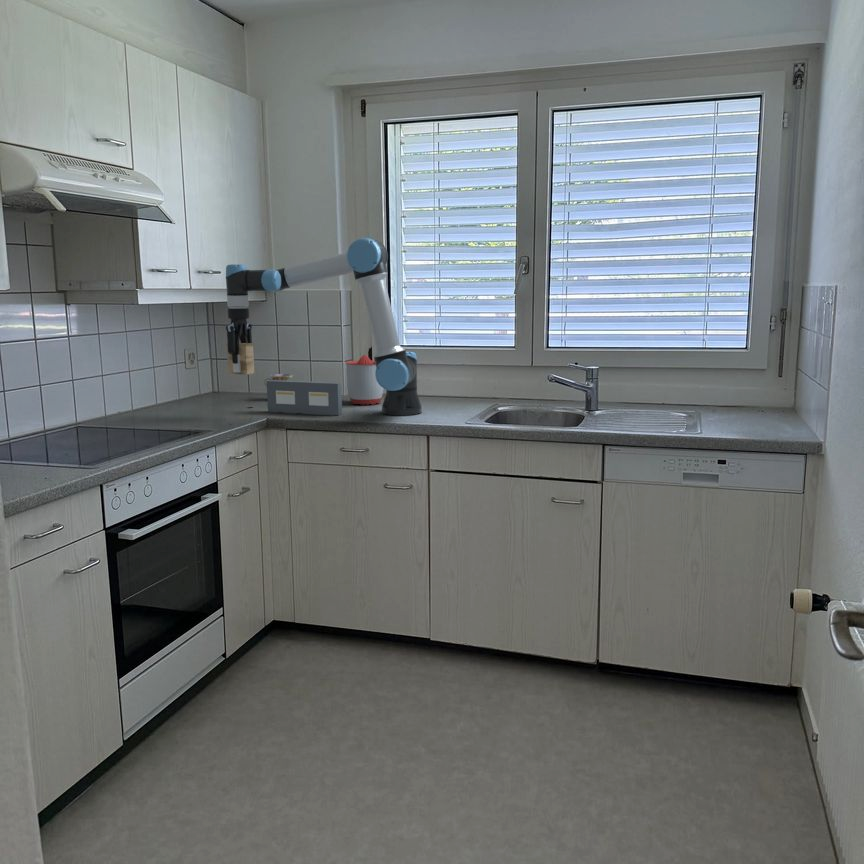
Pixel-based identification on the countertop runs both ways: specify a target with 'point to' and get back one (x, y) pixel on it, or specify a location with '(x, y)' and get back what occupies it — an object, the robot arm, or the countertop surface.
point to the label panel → (304, 397)
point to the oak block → (243, 359)
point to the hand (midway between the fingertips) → (241, 371)
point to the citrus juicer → (363, 382)
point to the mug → (281, 377)
